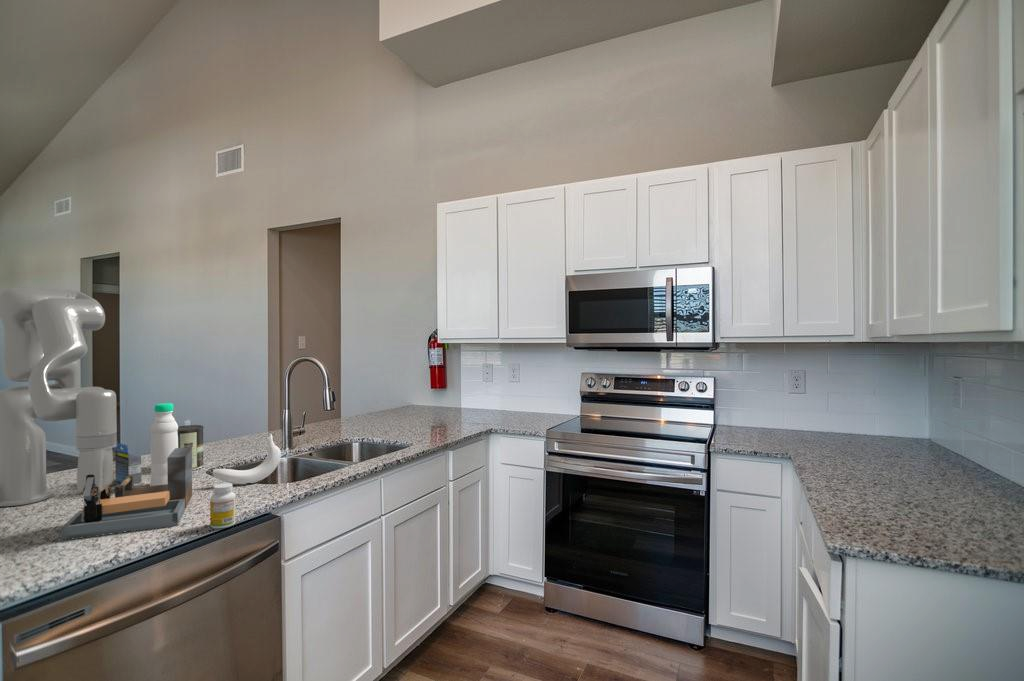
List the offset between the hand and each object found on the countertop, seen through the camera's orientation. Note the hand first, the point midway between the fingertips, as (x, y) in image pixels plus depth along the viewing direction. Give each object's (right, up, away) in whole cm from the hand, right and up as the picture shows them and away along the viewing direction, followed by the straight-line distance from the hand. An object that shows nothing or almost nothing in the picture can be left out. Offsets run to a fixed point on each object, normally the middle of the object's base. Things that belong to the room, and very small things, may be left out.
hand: (97, 516), depth 123 cm
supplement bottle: (+29, -3, +2) cm, 29 cm away
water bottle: (-7, -2, +34) cm, 35 cm away
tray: (+5, -3, +3) cm, 7 cm away
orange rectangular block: (+6, +1, +3) cm, 6 cm away
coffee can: (-13, -2, +54) cm, 55 cm away
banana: (+17, -3, +37) cm, 41 cm away
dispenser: (+3, -3, +16) cm, 16 cm away
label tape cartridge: (-21, -2, +38) cm, 43 cm away
